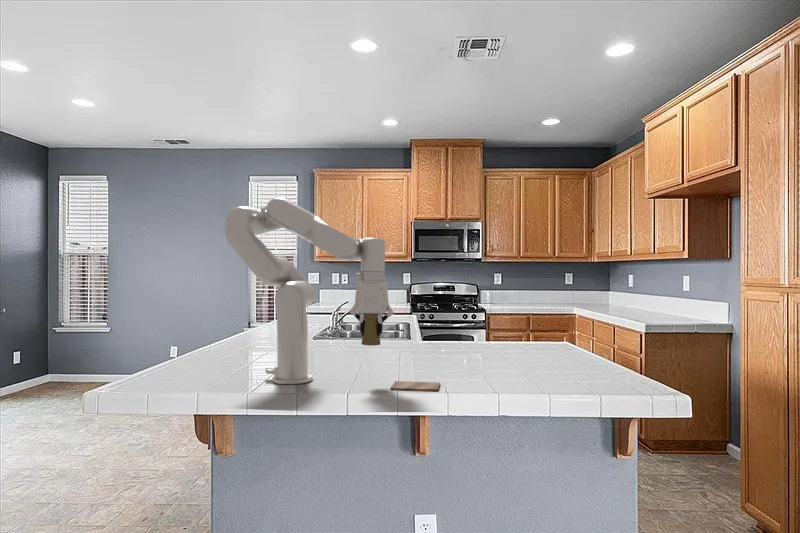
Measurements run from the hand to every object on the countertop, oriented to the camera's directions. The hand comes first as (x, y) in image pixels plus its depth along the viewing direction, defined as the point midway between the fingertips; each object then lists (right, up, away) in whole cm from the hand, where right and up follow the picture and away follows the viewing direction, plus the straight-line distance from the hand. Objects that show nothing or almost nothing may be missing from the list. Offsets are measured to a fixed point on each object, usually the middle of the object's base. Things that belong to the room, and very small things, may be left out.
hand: (371, 334), depth 166 cm
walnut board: (+14, -15, -7) cm, 21 cm away
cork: (0, -3, 0) cm, 3 cm away
